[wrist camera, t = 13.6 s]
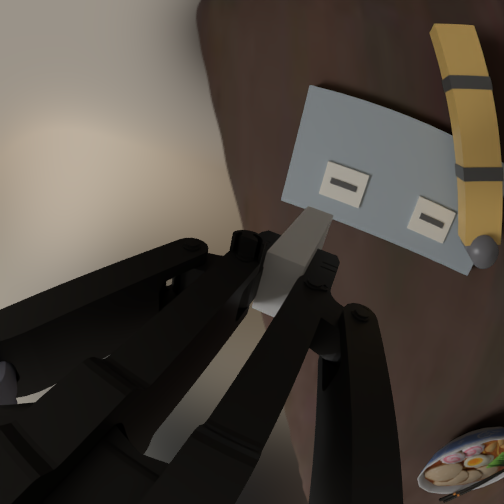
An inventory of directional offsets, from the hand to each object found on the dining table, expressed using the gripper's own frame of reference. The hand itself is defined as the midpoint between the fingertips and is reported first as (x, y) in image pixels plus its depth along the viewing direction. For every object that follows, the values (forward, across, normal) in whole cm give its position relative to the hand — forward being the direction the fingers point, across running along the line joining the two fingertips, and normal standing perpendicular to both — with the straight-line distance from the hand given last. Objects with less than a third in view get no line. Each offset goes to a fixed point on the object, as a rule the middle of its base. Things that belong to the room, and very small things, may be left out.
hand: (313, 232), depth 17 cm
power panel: (+16, +6, +2) cm, 17 cm away
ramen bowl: (+17, +43, -32) cm, 56 cm away
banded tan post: (+14, +11, +9) cm, 20 cm away
